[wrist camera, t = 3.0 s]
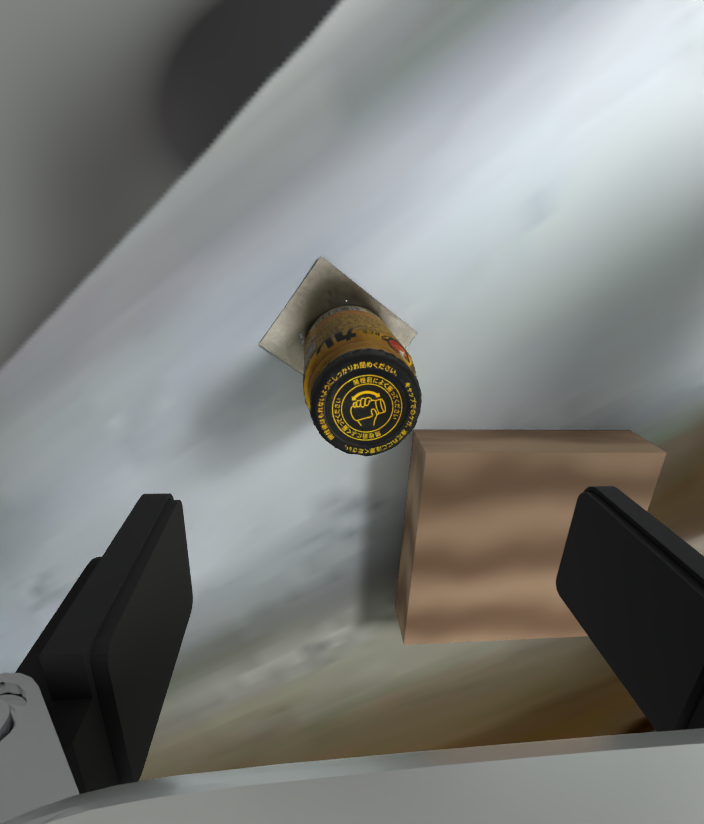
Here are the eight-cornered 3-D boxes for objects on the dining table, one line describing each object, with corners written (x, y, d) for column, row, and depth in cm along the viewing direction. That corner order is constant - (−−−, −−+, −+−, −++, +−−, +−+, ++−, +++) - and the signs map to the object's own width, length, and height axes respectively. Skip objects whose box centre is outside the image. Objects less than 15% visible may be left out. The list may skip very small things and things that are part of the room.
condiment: (354, 409, 33) (377, 497, 22) (259, 343, 30) (229, 404, 19) (417, 332, 31) (476, 384, 20) (321, 255, 29) (327, 266, 17)
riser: (413, 429, 34) (426, 453, 30) (629, 430, 36) (667, 452, 32) (395, 607, 40) (403, 644, 37) (578, 600, 42) (604, 635, 38)
